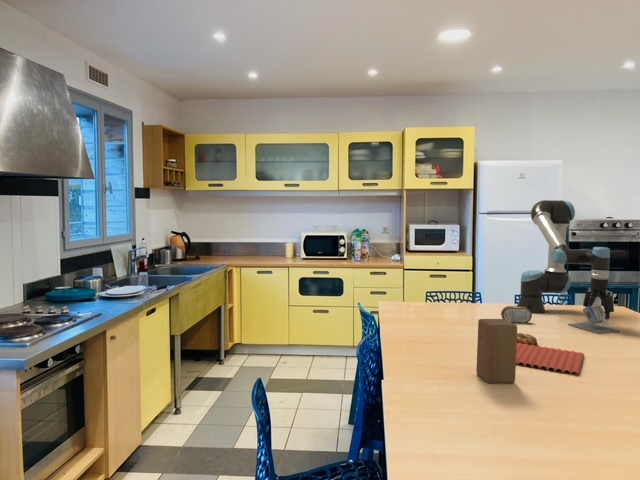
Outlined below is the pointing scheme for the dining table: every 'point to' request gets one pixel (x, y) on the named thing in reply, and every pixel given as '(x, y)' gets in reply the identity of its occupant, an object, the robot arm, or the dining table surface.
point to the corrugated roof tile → (549, 358)
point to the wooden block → (496, 350)
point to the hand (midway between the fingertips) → (597, 323)
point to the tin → (516, 314)
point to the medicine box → (594, 314)
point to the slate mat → (593, 328)
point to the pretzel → (526, 339)
